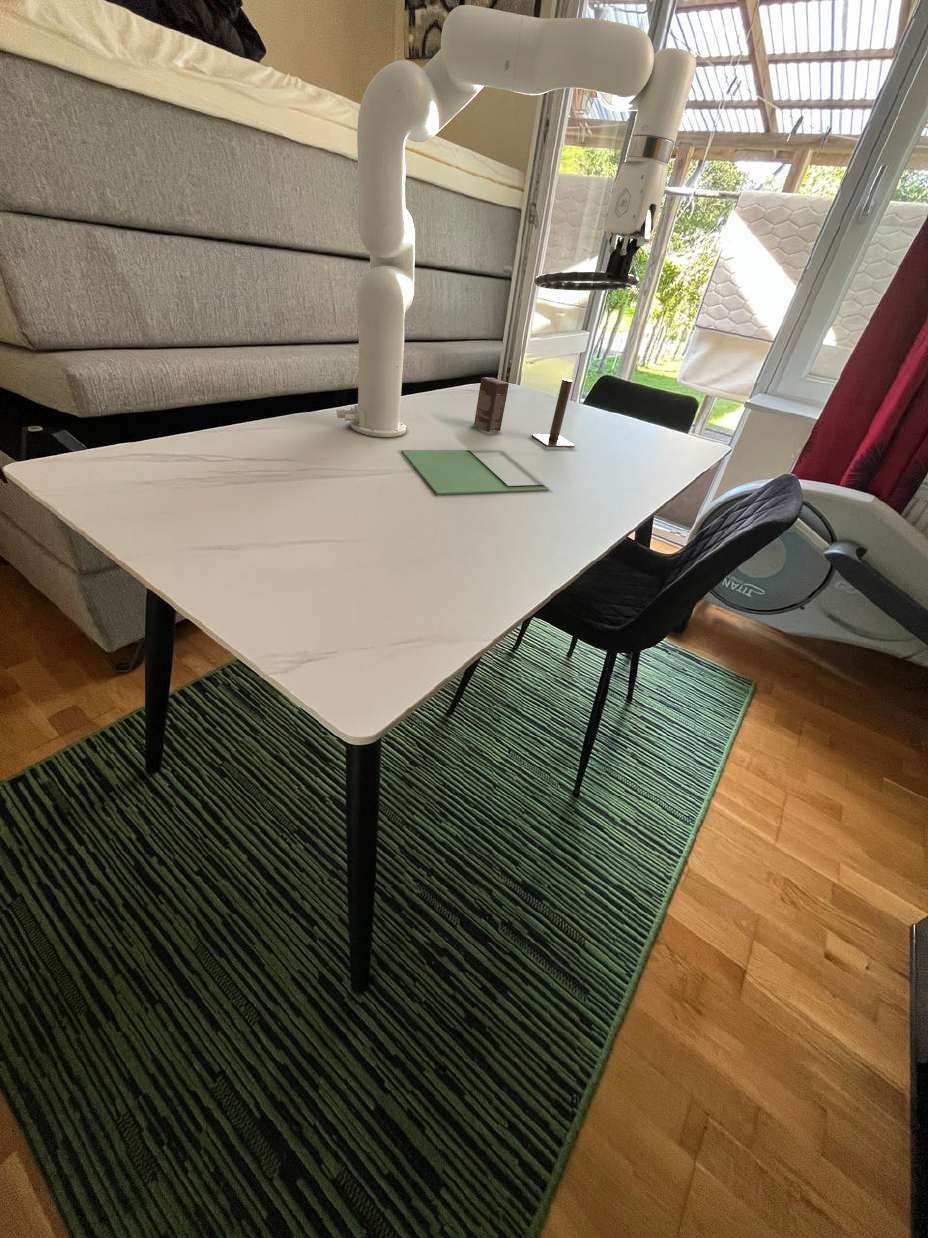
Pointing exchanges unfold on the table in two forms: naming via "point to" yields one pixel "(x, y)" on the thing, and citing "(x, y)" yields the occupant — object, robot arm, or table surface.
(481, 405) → the box
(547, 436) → the post
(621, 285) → the ring
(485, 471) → the mat
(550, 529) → the table surface
